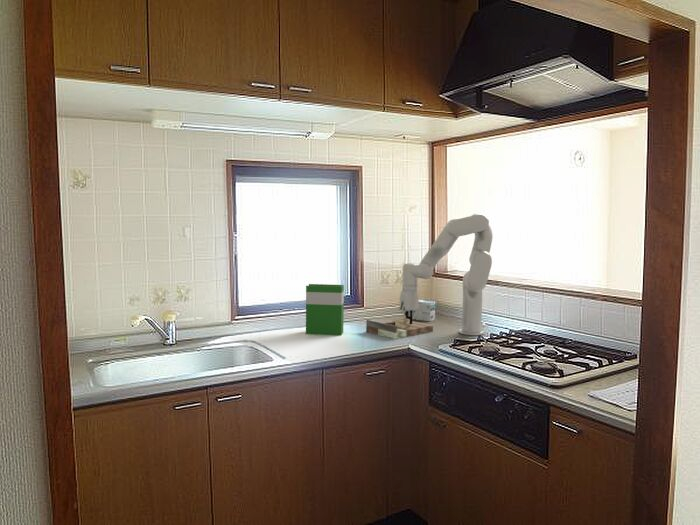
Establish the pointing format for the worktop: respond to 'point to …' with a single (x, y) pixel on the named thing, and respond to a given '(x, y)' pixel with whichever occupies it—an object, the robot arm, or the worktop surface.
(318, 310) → the green cereal box
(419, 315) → the light bulb box
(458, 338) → the worktop surface
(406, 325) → the maple block
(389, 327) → the board
